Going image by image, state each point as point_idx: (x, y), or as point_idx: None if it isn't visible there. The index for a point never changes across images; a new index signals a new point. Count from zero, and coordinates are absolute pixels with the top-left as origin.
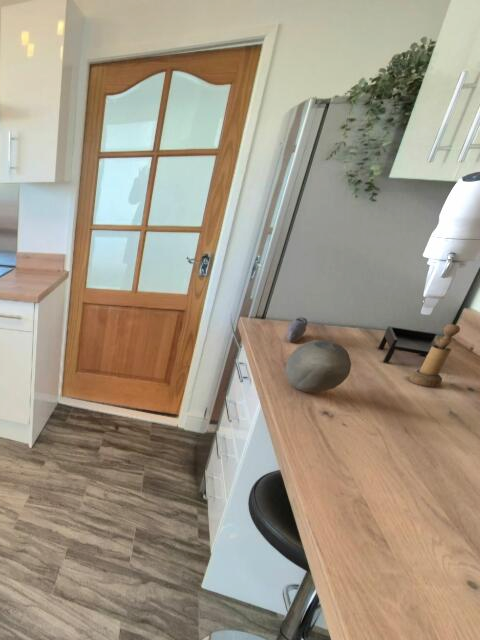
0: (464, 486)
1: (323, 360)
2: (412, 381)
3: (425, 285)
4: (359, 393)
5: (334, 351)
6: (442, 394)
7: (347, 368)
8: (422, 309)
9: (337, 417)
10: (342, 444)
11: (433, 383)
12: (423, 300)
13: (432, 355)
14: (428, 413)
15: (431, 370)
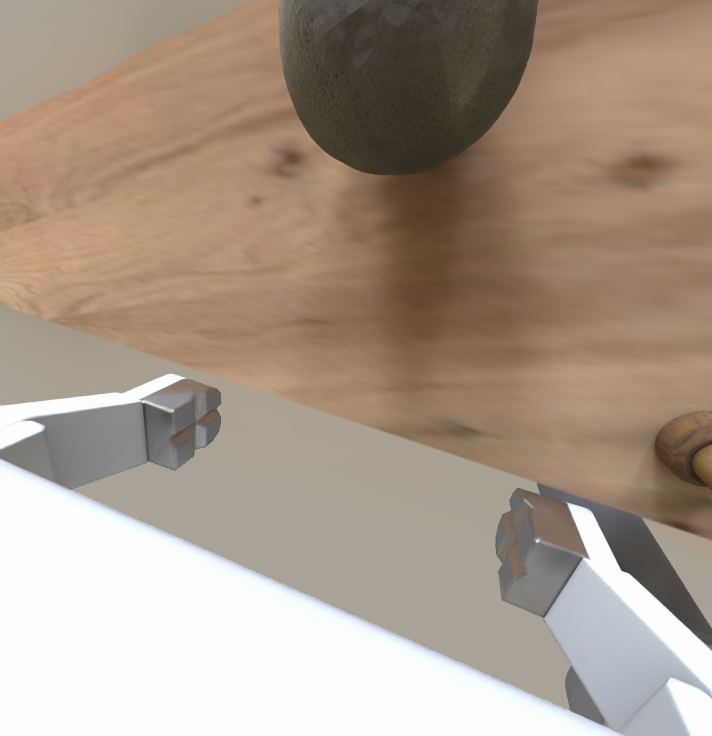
0: (172, 355)
1: (280, 24)
2: (687, 415)
3: (171, 618)
4: (494, 253)
5: (309, 39)
6: (600, 454)
7: (332, 150)
8: (145, 386)
9: (285, 187)
10: (166, 195)
11: (662, 456)
12: (581, 525)
13: None
14: (437, 386)
15: (706, 468)
